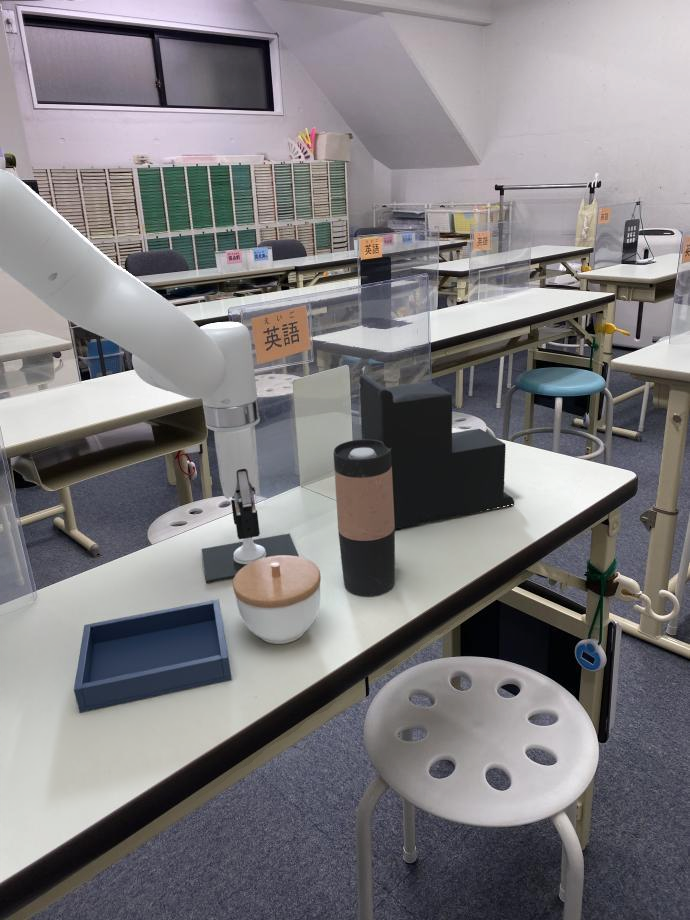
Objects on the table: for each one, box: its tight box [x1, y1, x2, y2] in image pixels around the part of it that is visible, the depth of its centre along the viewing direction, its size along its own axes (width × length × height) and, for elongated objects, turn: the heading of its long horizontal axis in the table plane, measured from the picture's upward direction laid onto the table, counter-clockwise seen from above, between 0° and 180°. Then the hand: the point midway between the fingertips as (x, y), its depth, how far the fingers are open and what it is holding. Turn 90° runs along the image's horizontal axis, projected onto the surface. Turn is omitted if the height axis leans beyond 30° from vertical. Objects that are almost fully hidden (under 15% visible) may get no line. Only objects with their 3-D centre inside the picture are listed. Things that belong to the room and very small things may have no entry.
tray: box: [73, 598, 233, 714], centre depth 81 cm, size 17×13×3 cm
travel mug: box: [333, 439, 396, 597], centre depth 92 cm, size 8×8×20 cm
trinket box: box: [232, 555, 322, 645], centre depth 85 cm, size 11×11×9 cm
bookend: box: [358, 373, 515, 530], centre depth 112 cm, size 23×11×24 cm, turn 108°
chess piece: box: [234, 498, 266, 564], centre depth 102 cm, size 5×5×10 cm
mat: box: [201, 533, 300, 584], centre depth 104 cm, size 14×10×1 cm
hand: (246, 528), depth 102 cm, fingers open, 4 cm apart
